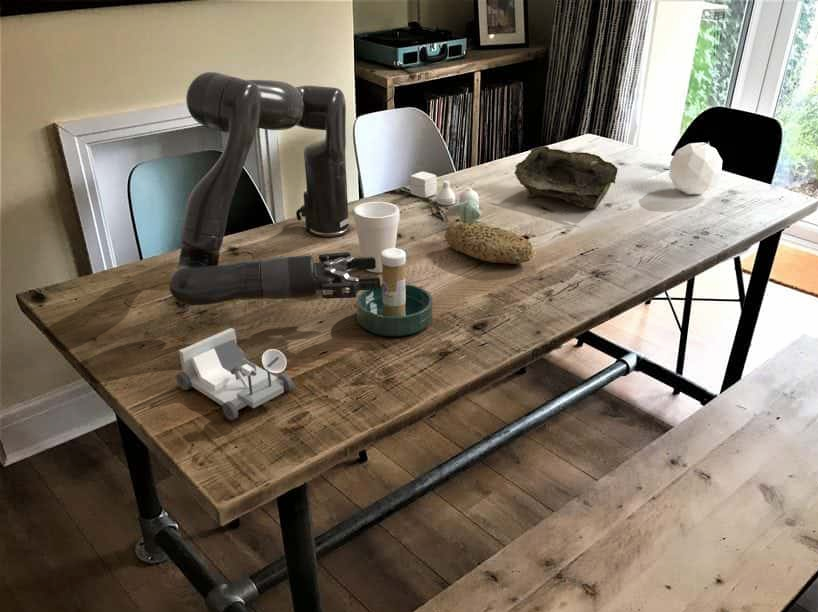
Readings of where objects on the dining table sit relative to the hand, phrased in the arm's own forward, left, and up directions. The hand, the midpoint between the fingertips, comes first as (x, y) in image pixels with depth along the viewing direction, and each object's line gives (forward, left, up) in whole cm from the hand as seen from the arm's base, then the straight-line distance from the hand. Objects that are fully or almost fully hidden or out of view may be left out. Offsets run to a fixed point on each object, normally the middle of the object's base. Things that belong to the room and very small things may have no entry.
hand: (377, 272), depth 145 cm
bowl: (+3, +2, -10) cm, 11 cm away
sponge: (+11, +37, -10) cm, 39 cm away
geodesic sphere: (+50, +100, -10) cm, 112 cm away
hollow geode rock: (+19, +78, -10) cm, 80 cm away
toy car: (-11, -30, -10) cm, 34 cm away
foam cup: (-10, +23, -10) cm, 27 cm away
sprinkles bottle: (+3, +1, -10) cm, 10 cm away
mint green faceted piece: (+1, +52, -10) cm, 53 cm away
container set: (-10, +66, -10) cm, 67 cm away
